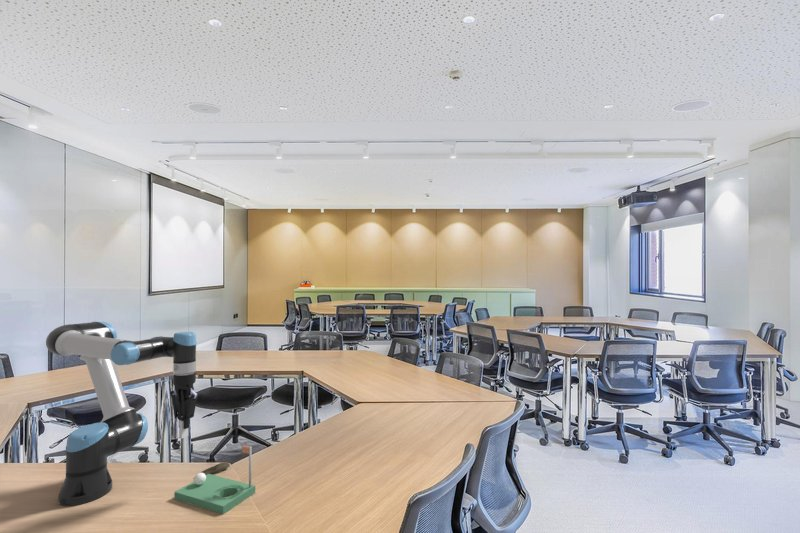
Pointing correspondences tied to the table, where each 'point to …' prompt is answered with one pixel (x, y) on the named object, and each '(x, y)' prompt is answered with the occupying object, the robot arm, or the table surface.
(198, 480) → the ball
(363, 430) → the table surface
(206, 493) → the green
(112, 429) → the robot arm
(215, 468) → the stone
